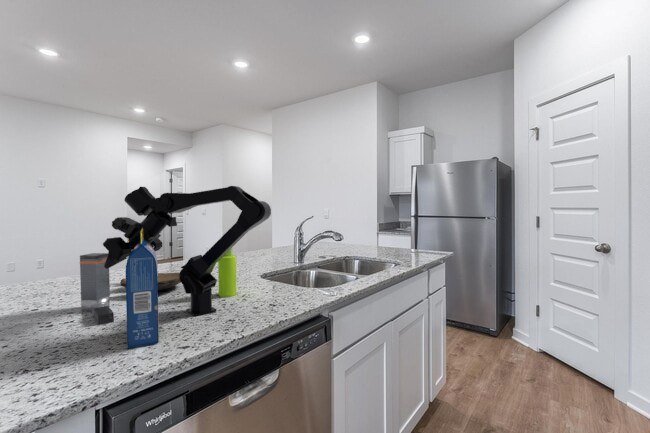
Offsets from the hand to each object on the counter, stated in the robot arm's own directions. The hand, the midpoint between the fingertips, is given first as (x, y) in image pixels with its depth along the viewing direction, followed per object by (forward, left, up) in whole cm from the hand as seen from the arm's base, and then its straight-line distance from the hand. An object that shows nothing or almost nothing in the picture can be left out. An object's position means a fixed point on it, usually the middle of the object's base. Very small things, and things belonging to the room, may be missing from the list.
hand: (117, 264), depth 98 cm
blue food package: (-28, 0, -13) cm, 31 cm away
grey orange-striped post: (+5, +5, -10) cm, 12 cm away
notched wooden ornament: (+19, -15, -13) cm, 28 cm away
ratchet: (-2, +5, -13) cm, 14 cm away
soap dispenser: (-7, -31, -13) cm, 35 cm away
